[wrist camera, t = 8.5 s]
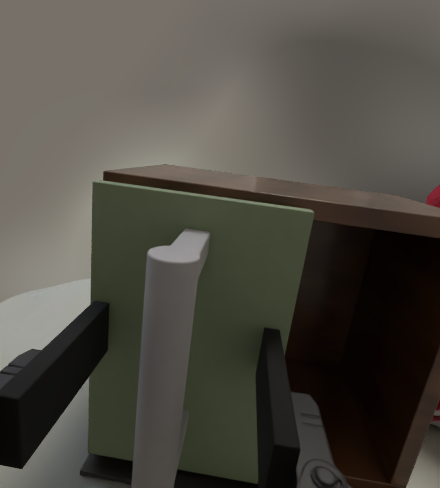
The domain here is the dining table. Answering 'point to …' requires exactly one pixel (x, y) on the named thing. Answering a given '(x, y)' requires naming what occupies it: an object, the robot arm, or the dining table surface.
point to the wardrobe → (343, 321)
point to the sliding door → (187, 325)
